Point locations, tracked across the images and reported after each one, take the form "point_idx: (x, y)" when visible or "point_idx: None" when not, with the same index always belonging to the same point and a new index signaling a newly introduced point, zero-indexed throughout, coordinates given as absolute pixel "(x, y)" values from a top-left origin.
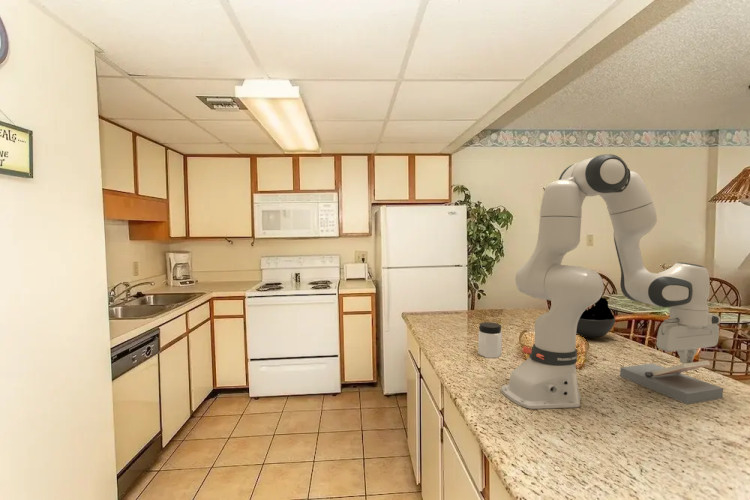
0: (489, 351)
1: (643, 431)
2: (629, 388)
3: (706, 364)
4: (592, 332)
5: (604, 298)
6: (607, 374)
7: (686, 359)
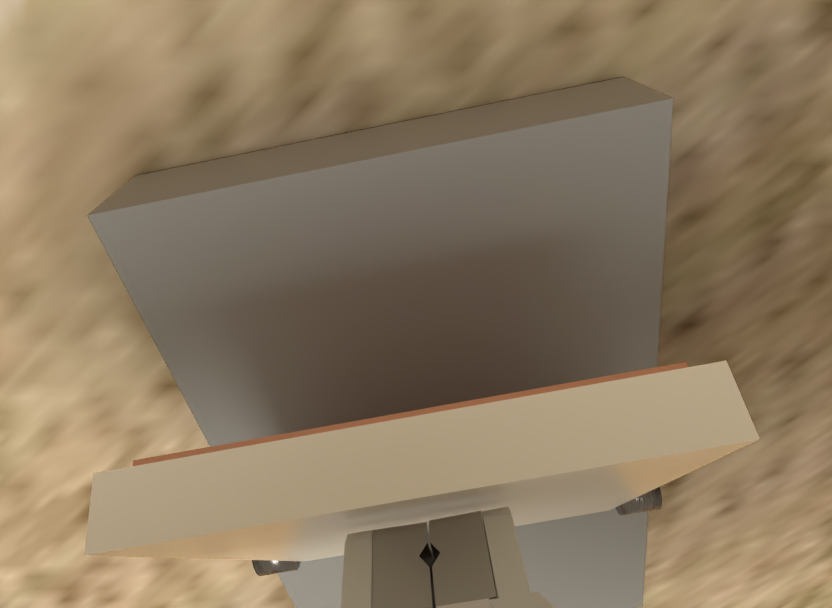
0: None
1: None
2: (766, 386)
3: (181, 468)
4: None
5: None
6: (670, 563)
7: (513, 572)
